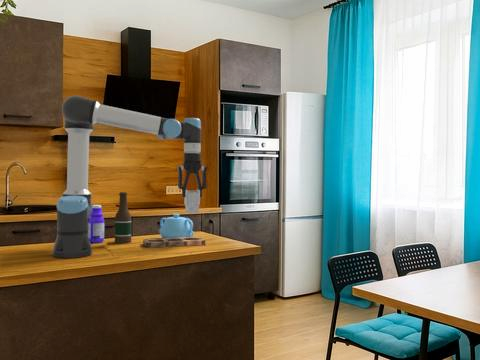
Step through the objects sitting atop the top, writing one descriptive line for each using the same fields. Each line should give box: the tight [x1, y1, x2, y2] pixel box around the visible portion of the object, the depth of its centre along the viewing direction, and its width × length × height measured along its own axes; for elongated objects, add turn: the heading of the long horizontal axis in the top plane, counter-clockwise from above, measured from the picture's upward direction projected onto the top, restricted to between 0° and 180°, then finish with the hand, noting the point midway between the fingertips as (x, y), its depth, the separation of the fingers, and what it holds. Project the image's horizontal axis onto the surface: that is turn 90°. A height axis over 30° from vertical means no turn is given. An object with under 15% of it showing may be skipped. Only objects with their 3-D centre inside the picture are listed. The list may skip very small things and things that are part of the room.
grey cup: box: [184, 190, 200, 214], centre depth 218 cm, size 5×5×10 cm
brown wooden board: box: [142, 236, 206, 249], centre depth 215 cm, size 26×10×3 cm, turn 110°
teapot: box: [158, 213, 195, 239], centre depth 238 cm, size 20×20×13 cm
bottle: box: [88, 204, 105, 244], centre depth 226 cm, size 7×6×17 cm
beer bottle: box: [114, 191, 132, 245], centre depth 219 cm, size 8×8×24 cm
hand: (192, 204), depth 218 cm, fingers closed on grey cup, 5 cm apart
